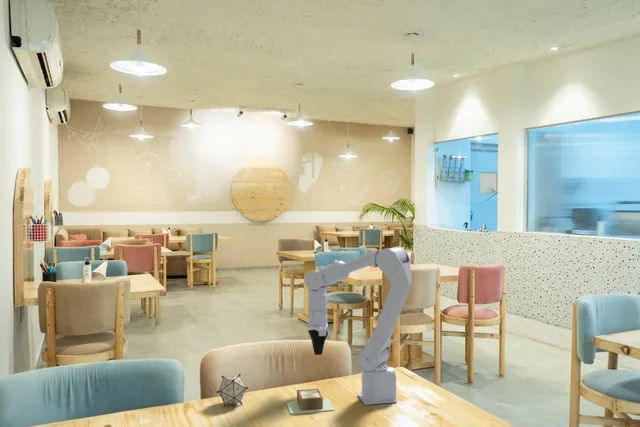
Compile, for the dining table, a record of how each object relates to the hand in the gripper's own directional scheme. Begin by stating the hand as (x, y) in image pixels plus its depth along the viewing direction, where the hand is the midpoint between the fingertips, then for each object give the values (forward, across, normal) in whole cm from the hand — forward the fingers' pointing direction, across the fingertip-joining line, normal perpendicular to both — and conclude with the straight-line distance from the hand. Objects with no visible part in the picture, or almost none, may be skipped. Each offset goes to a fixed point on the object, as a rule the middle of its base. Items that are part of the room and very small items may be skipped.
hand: (318, 354), depth 152 cm
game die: (+11, +7, -26) cm, 29 cm away
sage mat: (+10, +14, -5) cm, 18 cm away
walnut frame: (+9, +9, -5) cm, 14 cm away
